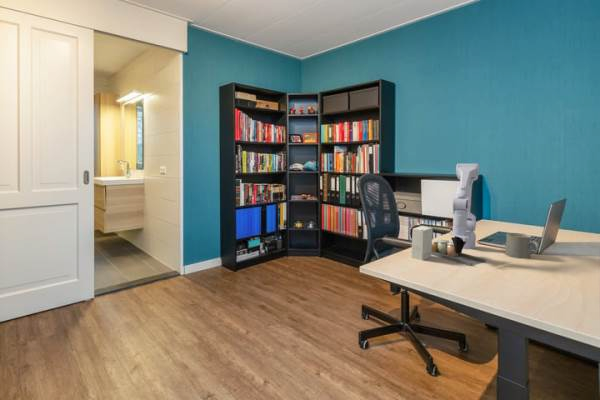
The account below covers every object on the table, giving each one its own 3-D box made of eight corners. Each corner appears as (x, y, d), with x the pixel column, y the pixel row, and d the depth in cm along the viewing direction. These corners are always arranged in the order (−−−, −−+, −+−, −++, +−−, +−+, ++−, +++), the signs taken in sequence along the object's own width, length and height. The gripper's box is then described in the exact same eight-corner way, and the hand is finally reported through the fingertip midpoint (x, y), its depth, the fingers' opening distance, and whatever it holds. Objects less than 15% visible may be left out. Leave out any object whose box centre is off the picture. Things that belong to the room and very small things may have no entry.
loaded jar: (438, 251, 165) (438, 239, 165) (449, 252, 163) (449, 240, 162) (436, 253, 161) (436, 241, 161) (447, 254, 158) (447, 242, 158)
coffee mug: (500, 253, 162) (501, 233, 161) (514, 251, 166) (515, 232, 165) (528, 261, 150) (530, 240, 149) (542, 258, 154) (544, 237, 153)
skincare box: (420, 255, 160) (421, 225, 158) (432, 258, 155) (433, 227, 153) (410, 259, 154) (411, 227, 153) (422, 262, 150) (423, 229, 148)
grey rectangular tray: (437, 249, 171) (437, 242, 170) (486, 263, 148) (487, 255, 148) (421, 252, 165) (421, 245, 164) (469, 267, 142) (470, 259, 142)
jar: (454, 253, 161) (454, 241, 160) (461, 256, 156) (461, 244, 155) (444, 254, 160) (444, 242, 159) (450, 257, 155) (451, 245, 154)
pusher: (440, 250, 167) (440, 240, 166) (442, 250, 166) (442, 241, 165) (429, 252, 163) (429, 242, 162) (431, 252, 162) (431, 243, 161)
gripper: (476, 227, 144) (474, 257, 146) (461, 221, 159) (460, 249, 160) (460, 227, 145) (458, 257, 146) (446, 221, 159) (445, 248, 161)
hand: (458, 253), depth 153 cm, fingers closed
